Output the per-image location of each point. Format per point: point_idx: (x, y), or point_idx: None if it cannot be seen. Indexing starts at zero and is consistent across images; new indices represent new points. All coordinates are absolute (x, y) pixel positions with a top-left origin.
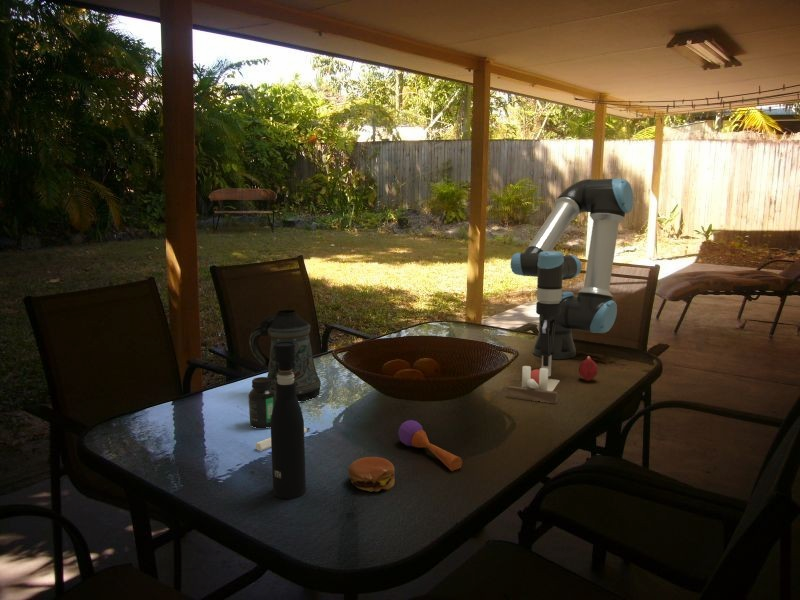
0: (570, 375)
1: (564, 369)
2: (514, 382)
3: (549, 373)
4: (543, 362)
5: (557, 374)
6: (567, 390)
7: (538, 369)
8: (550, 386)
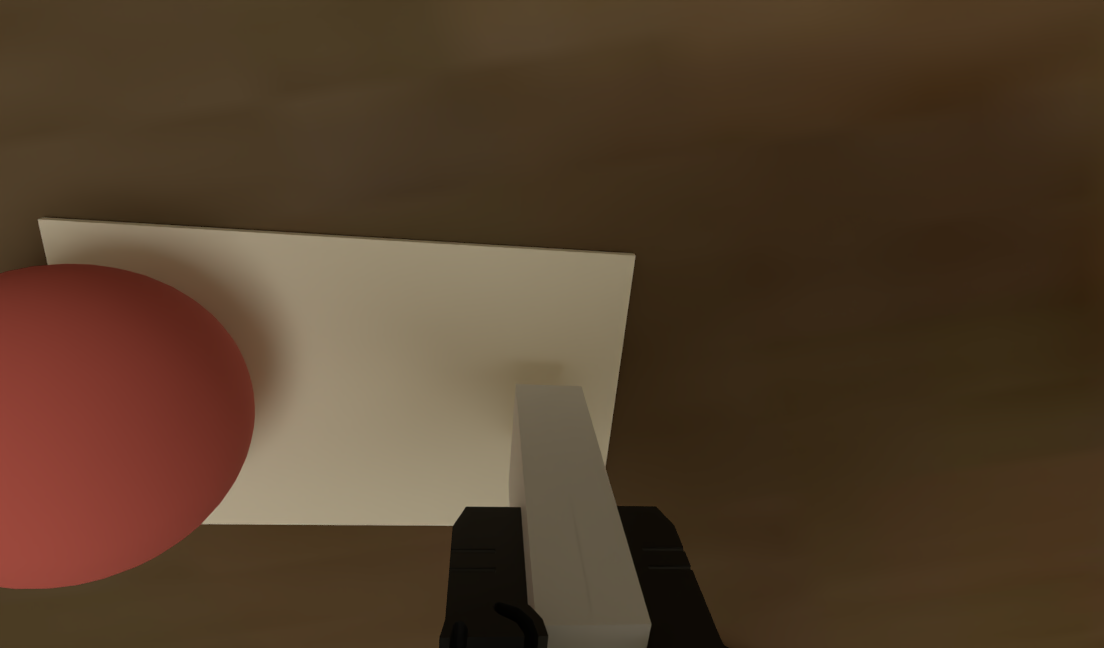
0: (823, 574)
1: (1038, 498)
2: (297, 4)
3: (511, 503)
4: (452, 561)
5: (838, 466)
6: (290, 624)
7: (18, 528)
8: (314, 481)
